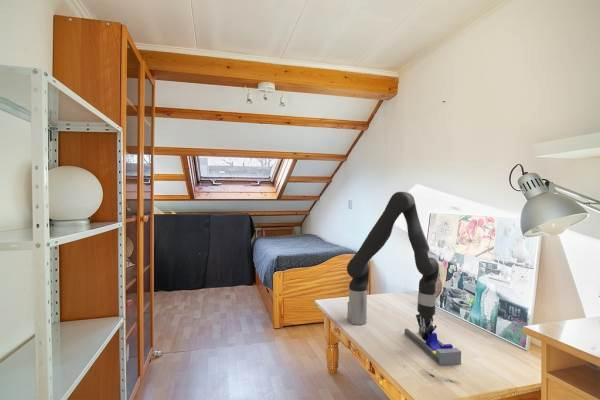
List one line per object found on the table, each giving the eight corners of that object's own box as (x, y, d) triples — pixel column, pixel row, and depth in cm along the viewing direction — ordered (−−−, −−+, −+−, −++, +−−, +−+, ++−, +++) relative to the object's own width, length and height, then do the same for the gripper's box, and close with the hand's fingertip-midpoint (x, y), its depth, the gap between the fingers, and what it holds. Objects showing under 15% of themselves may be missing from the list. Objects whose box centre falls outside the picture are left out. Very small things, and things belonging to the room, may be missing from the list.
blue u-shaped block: (425, 346, 137) (425, 333, 137) (434, 345, 138) (434, 332, 138) (442, 361, 125) (442, 346, 125) (452, 360, 126) (452, 345, 126)
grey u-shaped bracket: (440, 365, 122) (440, 353, 122) (404, 333, 149) (404, 323, 149) (461, 363, 123) (461, 351, 123) (421, 332, 151) (421, 322, 151)
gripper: (411, 297, 146) (409, 333, 146) (427, 308, 133) (426, 348, 133) (425, 296, 147) (424, 332, 148) (443, 307, 134) (441, 346, 135)
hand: (425, 339), depth 141 cm, fingers closed
